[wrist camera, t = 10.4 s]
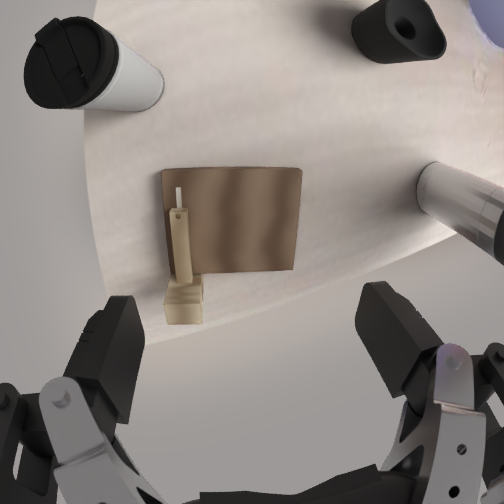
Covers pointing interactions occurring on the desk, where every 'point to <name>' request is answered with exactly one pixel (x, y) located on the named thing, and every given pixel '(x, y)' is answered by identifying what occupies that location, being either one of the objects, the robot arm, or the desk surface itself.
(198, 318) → the marking gauge
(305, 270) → the desk surface
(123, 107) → the travel mug
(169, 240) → the walnut board
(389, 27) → the pen holder
